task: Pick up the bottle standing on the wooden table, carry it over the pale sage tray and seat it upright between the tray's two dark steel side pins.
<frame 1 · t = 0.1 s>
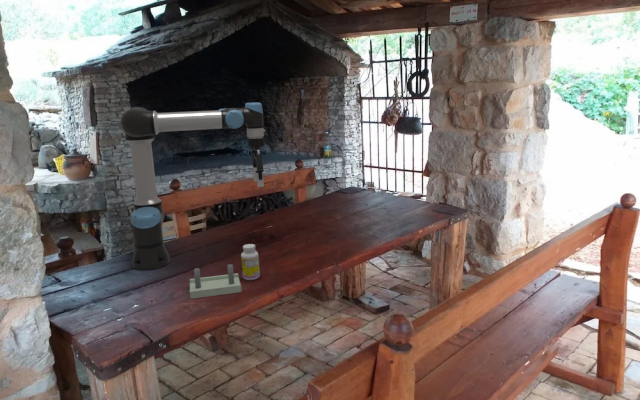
hand: (258, 183, 229), 28 cm above the table, fingers open, 13 cm apart
tray: (215, 288, 183), on the table
supplement bottle: (251, 277, 193), on the table
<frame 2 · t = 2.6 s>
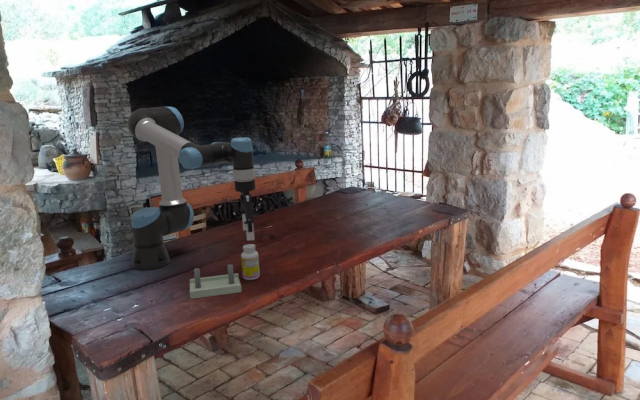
hand: (248, 234, 189), 17 cm above the table, fingers open, 13 cm apart
nothing on the table moved.
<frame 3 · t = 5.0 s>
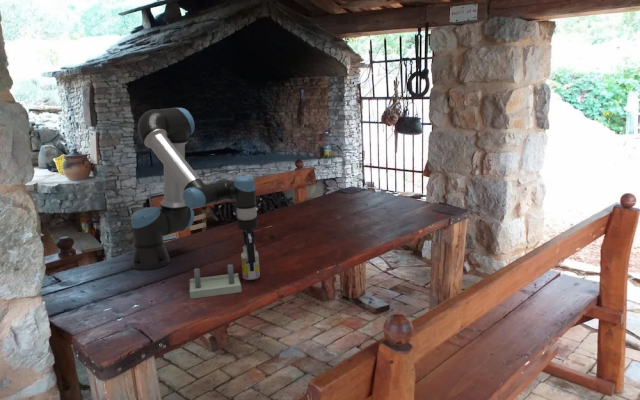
hand: (251, 274, 193), 1 cm above the table, fingers closed on supplement bottle, 7 cm apart
supplement bottle: (251, 277, 193), on the table, touching gripper
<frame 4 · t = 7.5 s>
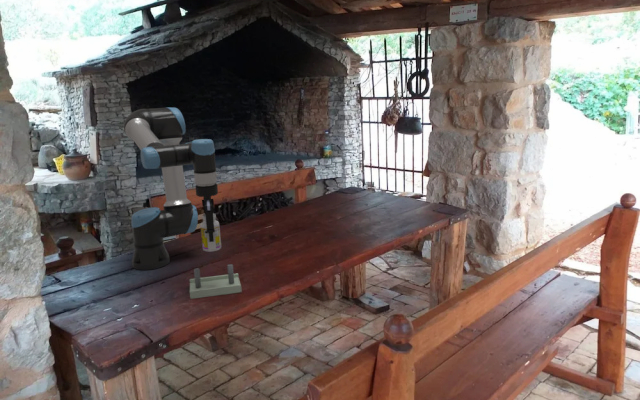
hand: (211, 246, 179), 16 cm above the table, fingers closed on supplement bottle, 7 cm apart
supplement bottle: (212, 249, 180), point 15 cm above the table, touching gripper
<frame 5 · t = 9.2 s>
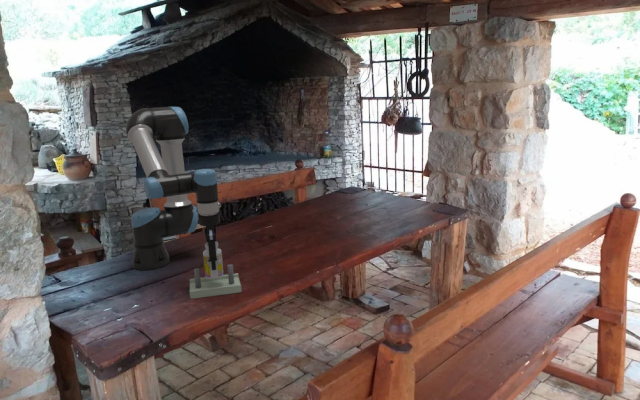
hand: (214, 273, 182), 6 cm above the table, fingers closed on supplement bottle, 7 cm apart
supplement bottle: (214, 277, 182), point 5 cm above the table, touching gripper
when the fingers open (4 cm above the table, at t = 10.3 s): supplement bottle drops 2 cm, resting on tray.
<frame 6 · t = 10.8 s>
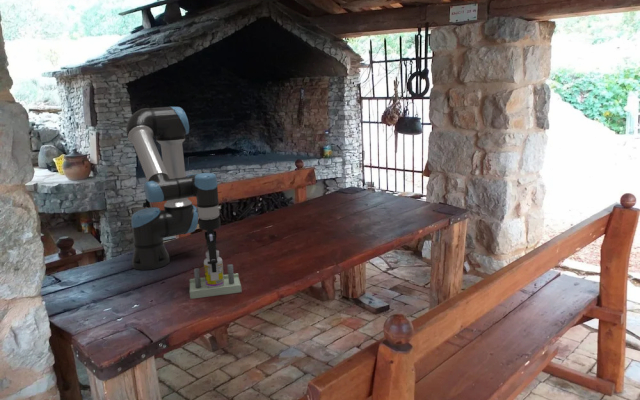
hand: (214, 273, 182), 6 cm above the table, fingers open, 13 cm apart
supplement bottle: (215, 285, 183), point 1 cm above the table, touching tray
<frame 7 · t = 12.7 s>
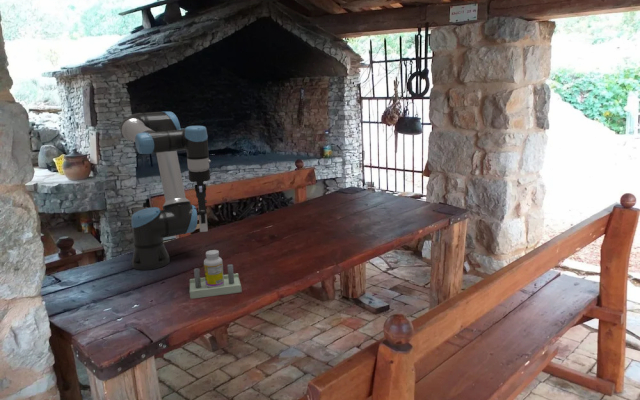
hand: (203, 225, 185), 22 cm above the table, fingers open, 13 cm apart
nothing on the table moved.
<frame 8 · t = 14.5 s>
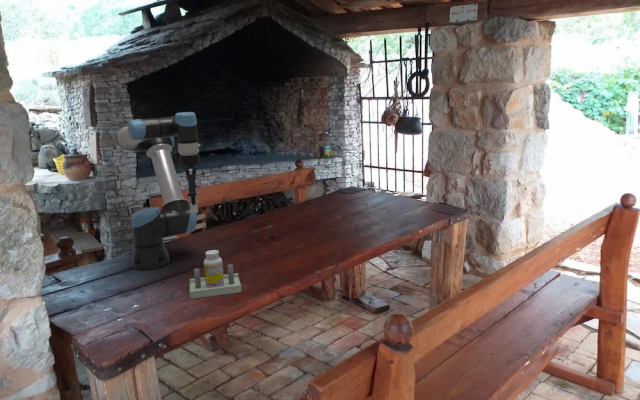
hand: (194, 208, 193), 27 cm above the table, fingers open, 13 cm apart
nothing on the table moved.
at the end: supplement bottle inside the target area on the tray (0.0 cm from its centre), point 1.3 cm above the tray's base; supplement bottle tilted 0°; the gripper is holding nothing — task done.
